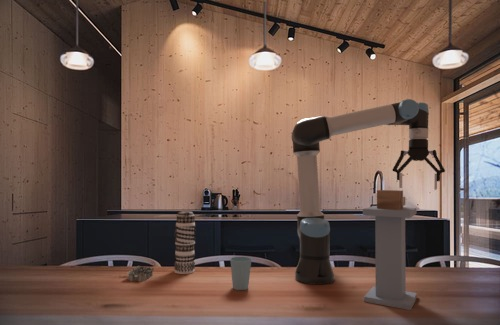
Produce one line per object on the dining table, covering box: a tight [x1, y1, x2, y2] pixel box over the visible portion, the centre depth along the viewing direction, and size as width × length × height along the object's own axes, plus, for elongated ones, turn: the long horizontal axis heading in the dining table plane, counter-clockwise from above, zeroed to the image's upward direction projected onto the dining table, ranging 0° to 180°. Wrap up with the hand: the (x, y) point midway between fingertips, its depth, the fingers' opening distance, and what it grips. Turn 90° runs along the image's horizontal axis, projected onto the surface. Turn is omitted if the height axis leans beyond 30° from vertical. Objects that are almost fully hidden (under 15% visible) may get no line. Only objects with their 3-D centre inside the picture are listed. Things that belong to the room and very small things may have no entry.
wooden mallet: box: [376, 189, 406, 210], centre depth 127 cm, size 26×7×6 cm, turn 149°
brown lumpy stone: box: [127, 265, 154, 282], centre depth 140 cm, size 11×8×4 cm
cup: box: [230, 256, 252, 291], centre depth 128 cm, size 8×8×10 cm
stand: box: [362, 205, 418, 311], centre depth 119 cm, size 14×17×30 cm
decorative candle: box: [173, 210, 197, 275], centre depth 151 cm, size 9×9×25 cm
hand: (417, 188), depth 152 cm, fingers open, 13 cm apart
